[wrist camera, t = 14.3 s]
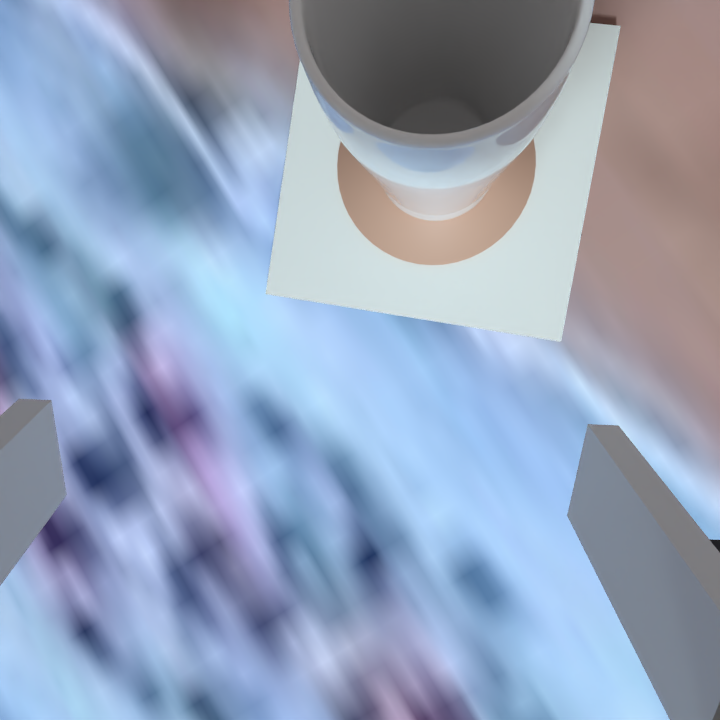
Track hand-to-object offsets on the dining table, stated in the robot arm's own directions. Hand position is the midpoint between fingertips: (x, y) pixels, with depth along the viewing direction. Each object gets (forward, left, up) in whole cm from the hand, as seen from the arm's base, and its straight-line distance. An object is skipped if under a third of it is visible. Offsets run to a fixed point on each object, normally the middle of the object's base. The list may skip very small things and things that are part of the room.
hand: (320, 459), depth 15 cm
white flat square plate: (+1, +11, -15) cm, 18 cm away
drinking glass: (+1, +11, -14) cm, 18 cm away
